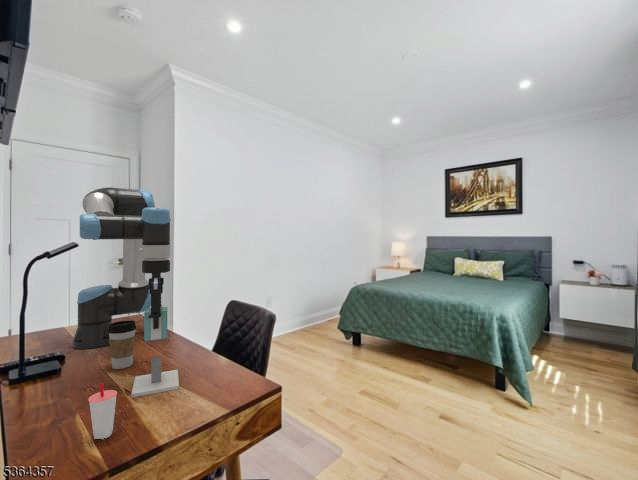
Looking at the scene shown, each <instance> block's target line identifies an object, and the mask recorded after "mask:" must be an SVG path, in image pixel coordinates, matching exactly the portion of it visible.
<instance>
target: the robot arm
mask: <svg viewBox="0 0 638 480" xmlns="http://www.w3.org/2000/svg"><path fill="white" fill-rule="evenodd" d="M155 205H156V204H155V200H154V196H153V194H152V193H151V191H149V190H143V189H134V188H120V187H112V186H111V187H102V188H98V189H97V188H96V189H94V190H92V191H90V192H88V193H86V195H85V196H84V197H83V199H82V208H83V211H84V213H82V214H80V216H79V237H80V238H81V239H83V240H94V241H97V240H122V279H121V280H120V281H119V282H118V284H117V285H118V286H117V287H113V285H112V284H102V285H96V286H91V287H87V288H84V289H82V290H80V291H79V292H78V294H77V301H76V303H77V328H76V330H75V333H74V336H73V339H72V342H71V343H72V346H71V347H72V348H73V349H77V350H89V349H90V350H91V349H96V348H102V347H106V346H108V345H109V346H110V344H109V333H108V329H109V325H110V324H111V323H113V316H121V315H129V314H139V313H142V312H143V313H144V312H145V309H146V308H151V314H150V316H148V318H151V340H150V341H156V340H162V339H161V307H163V305H162V294H163V291H164V290H163V289H164V282H165V280H164V279H165V278H164V277H162V276H161V275H162V274H164V273H165V274H166V273H169V272H170V271H171V260H170V258H171V215H170V214H171V212H170V210H169V209H168V208H164V207H156V206H155ZM146 274H151V277H149V278H148V280H147V279H146ZM154 312H155V313H154Z"/></svg>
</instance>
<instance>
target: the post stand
mask: <svg viewBox="0 0 638 480" xmlns="http://www.w3.org/2000/svg"><path fill="white" fill-rule="evenodd" d="M150 360H151V362H150V366H151V367H150V368H151V371H150V372H151V373H149V374H148V373H147V374H142V375H136V376H135V377H134V382H133V385H132V389H131V390H132V391H131V399H133V398H137V397H144V396H148V395H153V394H158V393H163V392H164V393H165V392H169V391H175V390H178V389H180V385H179V382H180V381H179V371H178V370H179V369H178V368H177V369H172V370H167V371H162V355H157V356H156V355H155V356H151V359H150Z"/></svg>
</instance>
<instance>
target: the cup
mask: <svg viewBox="0 0 638 480" xmlns="http://www.w3.org/2000/svg"><path fill="white" fill-rule="evenodd" d="M117 395H118V391H117V390H115V389H114V390H113V389H107V390H105V389H104V382H101V383H100V384H99V391H98V392H96V393H94V394H92V395H91V396H89V397H88V399H87V400H88V403H89V411H90V418H91V419H90V420H91V427H92V433H93V439H94V440H95V439H102V440H105V439H107V438H109V437H110V436H112V435H113V429H114V423H115V413H116V412H115V411H116V405H117V404H116V402H117ZM104 438H105V439H104Z"/></svg>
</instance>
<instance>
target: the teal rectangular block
mask: <svg viewBox="0 0 638 480" xmlns="http://www.w3.org/2000/svg"><path fill="white" fill-rule="evenodd" d="M154 313H155V312H154ZM150 314H151V307H150V308H146V309H145V311H144V312H143V316H144V317H143V318H144V319H143V324H144V325H143V326H144V328H143V331H144V334H143V335H144V339H143V341H144V342H149V341H152V340H151V318H148V316H150ZM165 339H168V306H161V339H160V340H165Z"/></svg>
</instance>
